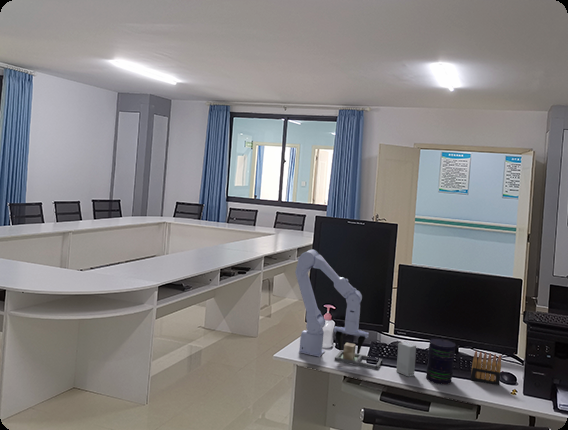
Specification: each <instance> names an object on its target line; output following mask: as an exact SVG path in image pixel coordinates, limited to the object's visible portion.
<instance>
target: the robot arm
mask: <svg viewBox="0 0 568 430" xmlns="http://www.w3.org/2000/svg"><path fill="white" fill-rule="evenodd" d="M312 268H313V269H316V270H317V269H318V270H321V272H323V273H324V274H325V276H327V277H328V278H329V279H330V280H331V281H332V282H333V287H334V288H335V290H336V291H337V292H338V293H339V294H340V295H341V296H342V297H343V298H344V299H345V301H346V309H345V319H344V327H342V326H336V325H335V326H334V327H333V333H335V338H336V340H337V344H338V350H339V351H342V350H343V340H344V334H346V335H351V336H355V337H357V347H356V348H357V349H356V354H360V352H361V348H362V346H363V344H364V342H365V340H366V339H369V334H370V333H369V332H367V331H364V330H361V329H359V324H360V318H361V317H360V316H361V315H360V314H361V302H362V299H363V295H362V293H361V291H360V290H357V288H356V287H354V286H353V285H352V284H350V282H349V279H348V278H345V277H343V276H342V277H341V276H339V274H338V273H336V271H335V269H333V267H331V266H330V264H329V263H328V262H327V261H326V259H325V258H324V257H323V255H321V254H320V253H319V252H318V251H317V250H316V249H308V250H307V251H304V252H302V253H301V254H300V256H299V257H298V258H297V263H296V268H295V272H294V273H295V276H296V279H297V284H298V287H299V291H300V295H301V298H302V301H303V304H304V309H305V311H306V314H305V315H306V316H305V319H306V320H305V321H306V329H305V330H302V331H301V333H300V339H299V350H298V353H300V354H306V355H309V356H314V357H319V358H320V357H321V356H322V355H323V354H324V353H325V352H326V350H325V349H323V344H324V333H325V331H324V330H323V328H324V327H325V325H326V319H325V317H324V316H323V315H322V312H321V310H320V309H319V308H318V304H317V301H316V297H315V293H314V290H313V286H312V283H311V279H310V275H309V272H310V270H311V269H312Z"/></svg>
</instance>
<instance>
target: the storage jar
mask: <svg viewBox="0 0 568 430" xmlns="http://www.w3.org/2000/svg"><path fill="white" fill-rule="evenodd" d="M455 355H456V343H455V342H453V341H451V340H449V339H444V338H430V339H429V346H428V361H427V365H426V370H425V371H426V376H425V379H426V380H427V381H429V382H431V383H433V384H436V385H442V386H445V385H451V384H452V379H453V371H454V368H453V366H454V365H453V364H454V360H455Z"/></svg>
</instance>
